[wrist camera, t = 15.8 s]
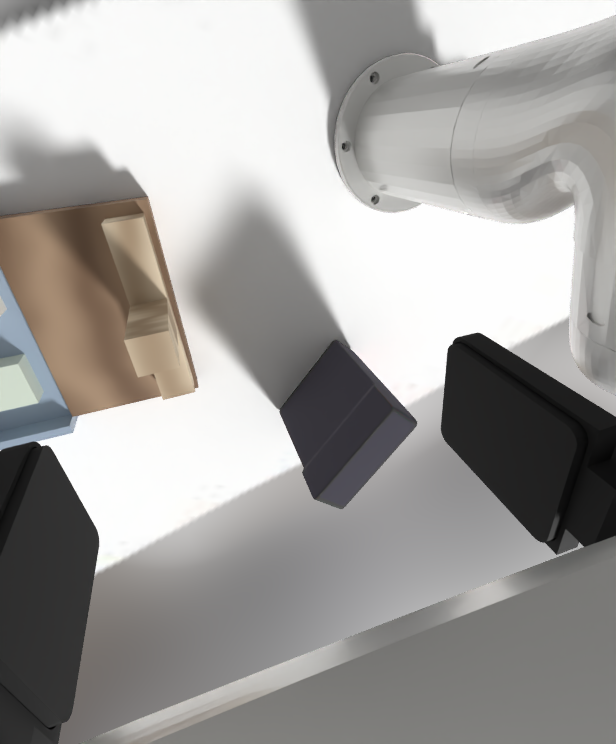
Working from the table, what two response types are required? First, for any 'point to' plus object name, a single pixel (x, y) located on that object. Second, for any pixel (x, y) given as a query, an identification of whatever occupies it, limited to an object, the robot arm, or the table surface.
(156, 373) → the bent tan panel
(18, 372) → the sage tile
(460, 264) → the table surface
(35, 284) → the walnut board
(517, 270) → the table surface
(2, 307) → the cream tile
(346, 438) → the charcoal rectangular box
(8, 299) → the box
